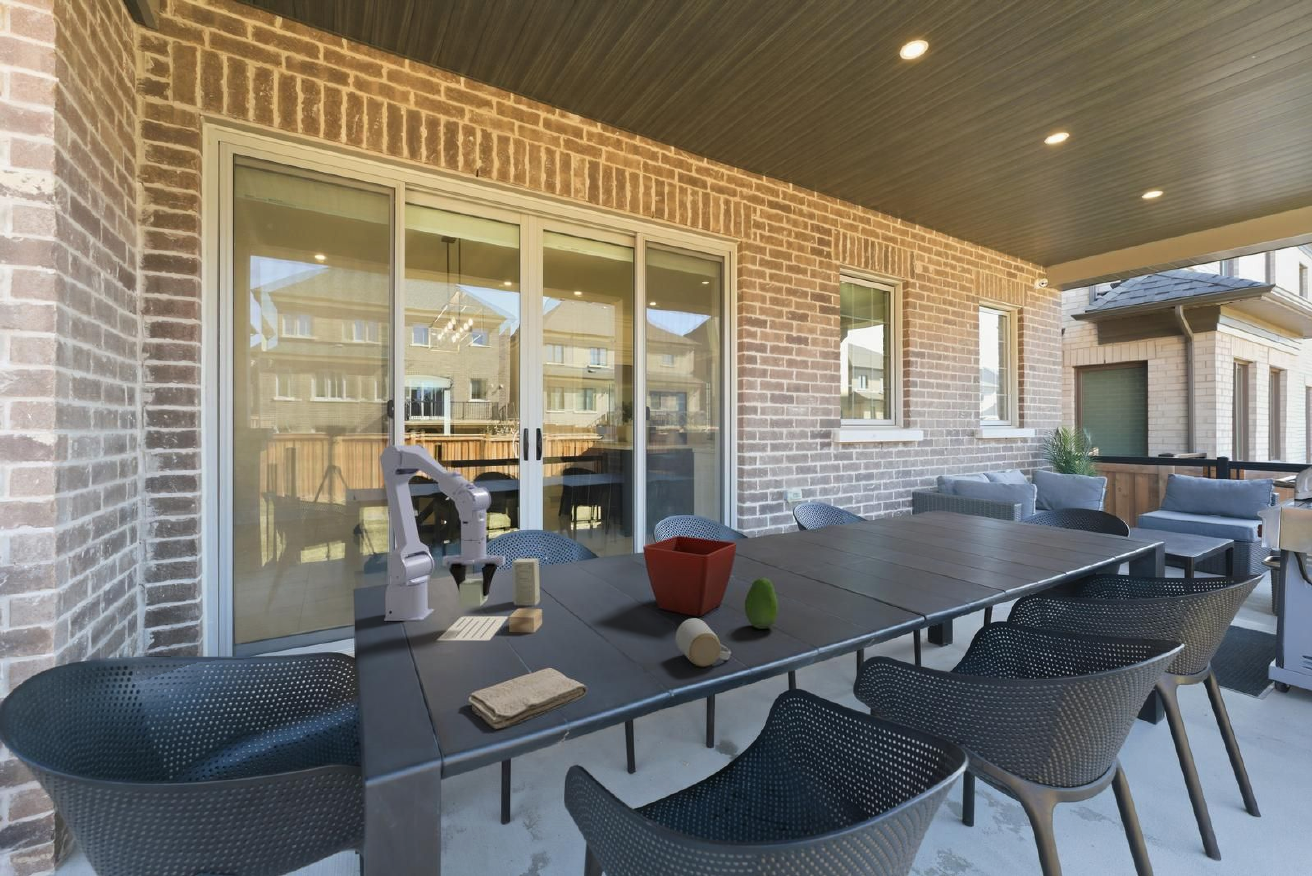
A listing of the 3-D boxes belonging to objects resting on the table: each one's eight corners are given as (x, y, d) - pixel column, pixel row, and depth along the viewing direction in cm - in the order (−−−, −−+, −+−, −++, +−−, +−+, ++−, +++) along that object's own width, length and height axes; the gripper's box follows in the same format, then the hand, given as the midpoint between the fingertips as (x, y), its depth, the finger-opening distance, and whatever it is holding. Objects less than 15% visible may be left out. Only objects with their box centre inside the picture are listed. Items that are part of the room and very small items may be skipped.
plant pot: (738, 603, 152) (738, 542, 152) (706, 624, 136) (706, 555, 136) (678, 592, 162) (677, 535, 162) (641, 610, 146) (641, 547, 146)
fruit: (784, 627, 133) (784, 577, 133) (766, 636, 127) (766, 584, 127) (756, 619, 138) (756, 572, 138) (738, 628, 133) (738, 578, 132)
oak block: (509, 633, 130) (509, 616, 130) (518, 624, 136) (518, 608, 136) (534, 634, 130) (533, 617, 130) (542, 625, 136) (541, 609, 136)
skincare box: (540, 601, 154) (539, 558, 154) (535, 606, 150) (534, 561, 149) (518, 601, 155) (517, 557, 155) (512, 606, 150) (512, 561, 150)
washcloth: (463, 709, 96) (463, 691, 96) (551, 676, 108) (551, 661, 108) (497, 736, 87) (497, 716, 87) (588, 697, 100) (588, 680, 100)
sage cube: (459, 605, 130) (459, 584, 130) (467, 598, 135) (467, 578, 135) (480, 606, 130) (480, 584, 130) (487, 599, 135) (487, 579, 135)
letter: (436, 641, 125) (436, 640, 125) (461, 617, 141) (461, 616, 141) (489, 641, 125) (489, 640, 125) (508, 617, 141) (508, 616, 141)
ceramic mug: (689, 671, 109) (690, 632, 109) (674, 655, 117) (675, 619, 117) (737, 664, 112) (738, 627, 112) (720, 649, 120) (721, 614, 120)
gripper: (437, 541, 129) (437, 600, 129) (499, 541, 129) (499, 599, 129) (448, 536, 136) (449, 591, 136) (507, 535, 136) (507, 591, 136)
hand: (474, 594), depth 133 cm, fingers closed on sage cube, 5 cm apart
